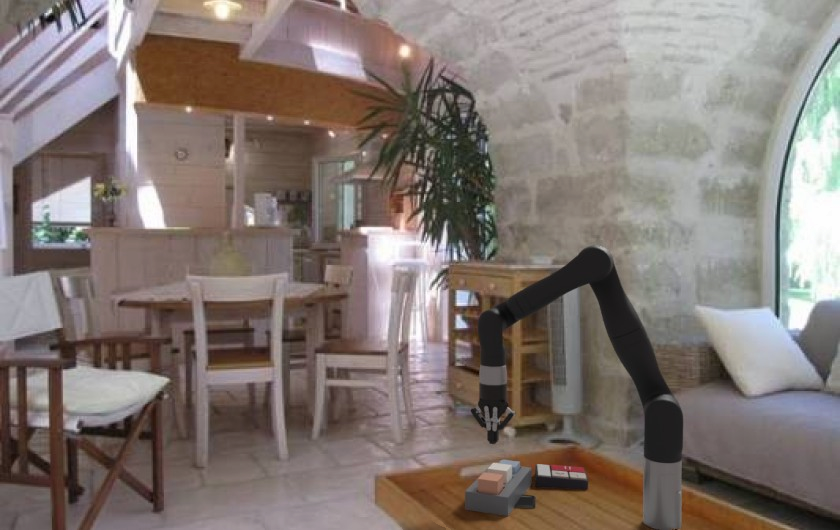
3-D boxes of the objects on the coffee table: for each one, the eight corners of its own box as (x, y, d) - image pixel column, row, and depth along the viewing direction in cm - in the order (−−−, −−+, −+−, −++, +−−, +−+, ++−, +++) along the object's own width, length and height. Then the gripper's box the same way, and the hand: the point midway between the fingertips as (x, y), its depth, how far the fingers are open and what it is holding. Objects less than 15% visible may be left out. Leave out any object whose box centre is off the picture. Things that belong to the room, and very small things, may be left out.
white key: (512, 478, 204) (512, 465, 203) (506, 484, 198) (506, 471, 198) (493, 475, 206) (493, 462, 206) (487, 482, 201) (487, 468, 200)
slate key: (520, 474, 212) (520, 461, 212) (515, 480, 207) (515, 467, 207) (501, 472, 214) (501, 459, 214) (496, 478, 209) (496, 465, 209)
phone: (482, 492, 203) (535, 495, 201) (482, 496, 203) (535, 499, 201) (480, 502, 195) (535, 506, 193) (480, 506, 195) (535, 510, 193)
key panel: (531, 484, 212) (531, 467, 212) (508, 516, 188) (508, 497, 188) (492, 478, 217) (492, 462, 216) (465, 509, 193) (465, 491, 192)
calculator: (588, 478, 207) (536, 473, 209) (587, 493, 207) (535, 488, 209) (584, 466, 218) (535, 461, 220) (584, 480, 218) (534, 475, 220)
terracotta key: (503, 488, 195) (503, 474, 195) (497, 495, 190) (497, 481, 190) (483, 486, 197) (483, 472, 197) (477, 492, 192) (477, 478, 192)
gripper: (520, 380, 196) (520, 442, 196) (475, 376, 201) (474, 437, 202) (512, 385, 189) (512, 450, 189) (465, 381, 194) (465, 444, 195)
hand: (492, 443), depth 196 cm, fingers closed
